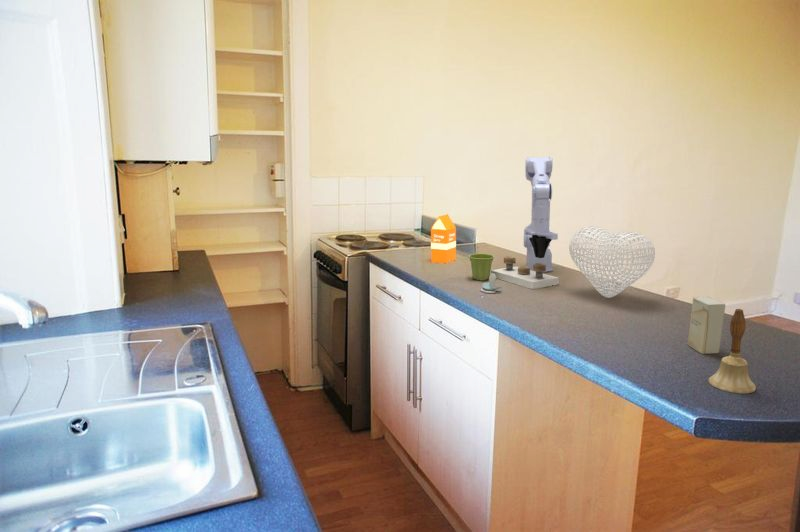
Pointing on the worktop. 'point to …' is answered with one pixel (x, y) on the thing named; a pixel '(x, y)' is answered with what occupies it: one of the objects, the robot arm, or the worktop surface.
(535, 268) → the knob
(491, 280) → the pacifier
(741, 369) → the hand bell
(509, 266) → the knob
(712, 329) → the skincare box
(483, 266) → the plant pot
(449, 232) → the orange juice
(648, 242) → the heart
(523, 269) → the knob middle
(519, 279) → the mount plate
